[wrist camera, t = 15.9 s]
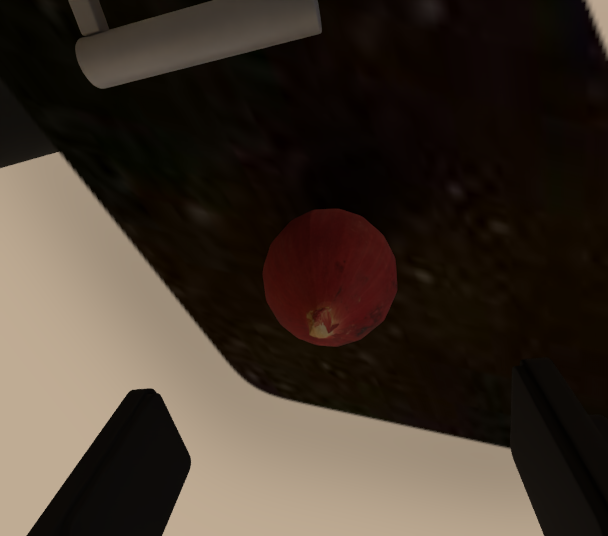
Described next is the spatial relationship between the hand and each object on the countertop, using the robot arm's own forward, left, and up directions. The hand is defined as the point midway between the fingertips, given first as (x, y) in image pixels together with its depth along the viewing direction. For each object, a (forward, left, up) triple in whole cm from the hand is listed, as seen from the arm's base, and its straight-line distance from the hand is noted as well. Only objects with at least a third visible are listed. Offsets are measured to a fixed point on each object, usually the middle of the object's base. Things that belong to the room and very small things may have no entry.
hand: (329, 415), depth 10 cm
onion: (0, 0, -12) cm, 12 cm away
